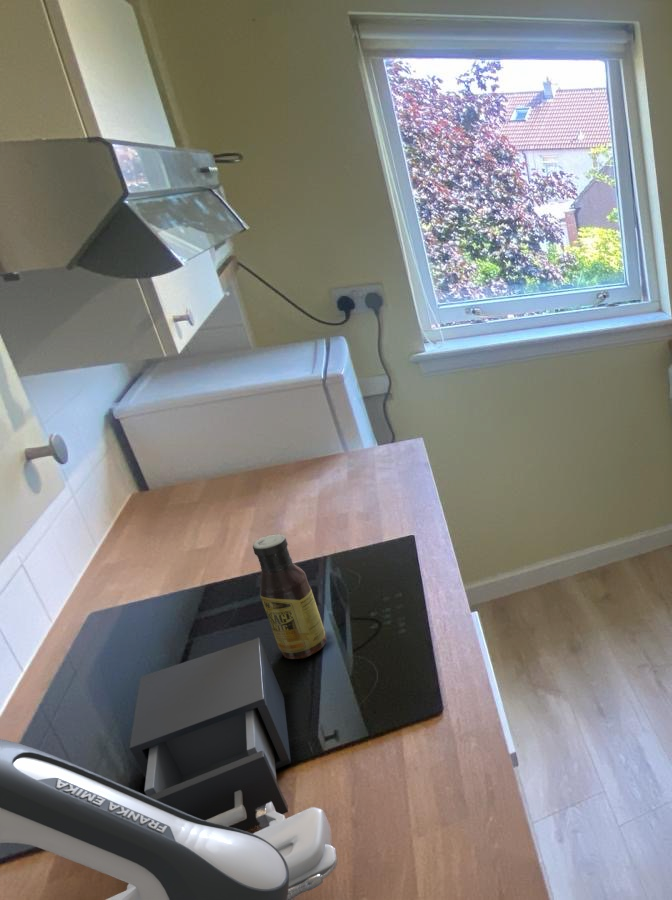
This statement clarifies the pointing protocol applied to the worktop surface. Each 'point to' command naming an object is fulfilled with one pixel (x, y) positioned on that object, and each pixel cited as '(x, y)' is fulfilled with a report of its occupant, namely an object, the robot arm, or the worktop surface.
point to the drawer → (218, 772)
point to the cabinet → (209, 699)
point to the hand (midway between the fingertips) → (213, 831)
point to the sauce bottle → (288, 600)
